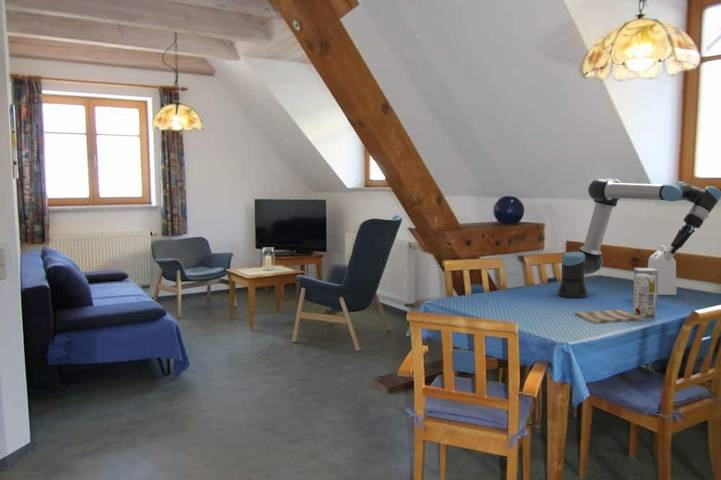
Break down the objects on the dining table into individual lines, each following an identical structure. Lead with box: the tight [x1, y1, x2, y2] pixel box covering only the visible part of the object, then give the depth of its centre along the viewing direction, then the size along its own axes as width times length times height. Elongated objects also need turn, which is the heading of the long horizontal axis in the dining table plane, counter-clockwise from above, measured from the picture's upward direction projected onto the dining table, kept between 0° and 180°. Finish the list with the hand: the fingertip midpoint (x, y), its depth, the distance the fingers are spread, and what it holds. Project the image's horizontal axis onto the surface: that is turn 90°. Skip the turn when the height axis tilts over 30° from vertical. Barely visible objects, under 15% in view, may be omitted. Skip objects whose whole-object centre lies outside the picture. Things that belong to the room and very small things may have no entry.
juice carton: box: [632, 273, 656, 318], centre depth 258 cm, size 8×9×19 cm
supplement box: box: [632, 267, 658, 304], centre depth 286 cm, size 10×9×17 cm
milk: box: [647, 244, 677, 296], centre depth 306 cm, size 12×12×26 cm
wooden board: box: [574, 309, 645, 324], centre depth 255 cm, size 24×16×1 cm, turn 100°
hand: (666, 259), depth 260 cm, fingers closed
